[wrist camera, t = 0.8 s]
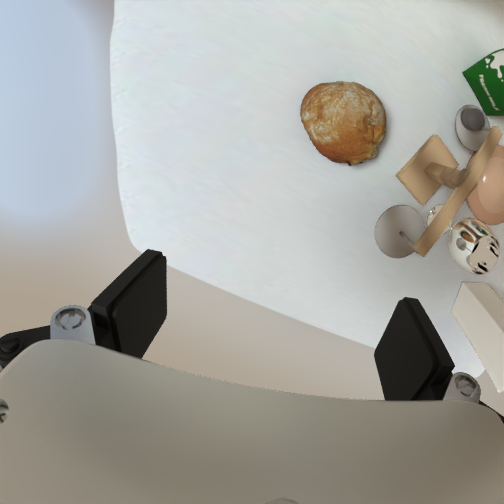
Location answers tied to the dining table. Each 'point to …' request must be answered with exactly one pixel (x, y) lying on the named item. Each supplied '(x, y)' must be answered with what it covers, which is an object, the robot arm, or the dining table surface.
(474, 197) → the dish
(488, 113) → the milk carton
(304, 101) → the bread roll
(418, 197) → the balance
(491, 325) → the milk
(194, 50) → the dining table surface
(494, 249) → the wineglass
